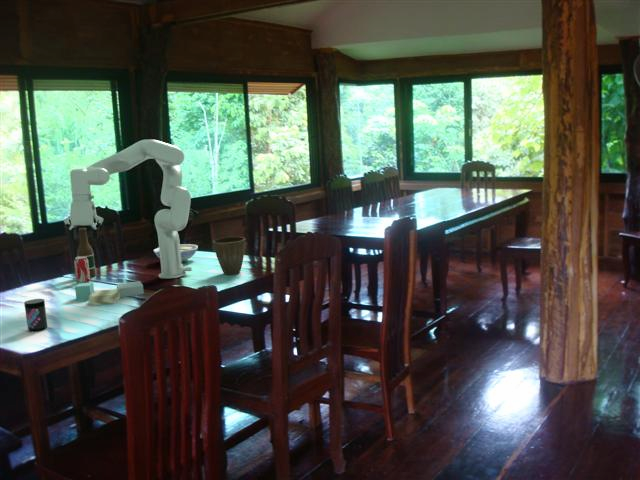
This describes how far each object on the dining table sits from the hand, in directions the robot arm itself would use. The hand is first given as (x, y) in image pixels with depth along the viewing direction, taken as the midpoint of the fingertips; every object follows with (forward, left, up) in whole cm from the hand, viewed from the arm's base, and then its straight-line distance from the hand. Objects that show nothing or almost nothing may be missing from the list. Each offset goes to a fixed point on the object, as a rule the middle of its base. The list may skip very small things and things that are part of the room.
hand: (85, 238), depth 290 cm
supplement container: (+7, +49, -25) cm, 55 cm away
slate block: (-17, +3, -25) cm, 30 cm away
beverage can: (+10, -26, -25) cm, 37 cm away
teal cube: (+1, +6, -25) cm, 25 cm away
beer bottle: (+11, -38, -25) cm, 47 cm away
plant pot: (-59, -22, -25) cm, 68 cm away
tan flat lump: (-9, +14, -25) cm, 30 cm away
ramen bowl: (-29, -60, -25) cm, 71 cm away
